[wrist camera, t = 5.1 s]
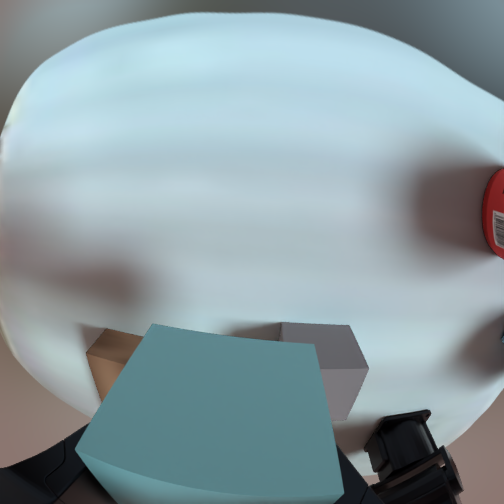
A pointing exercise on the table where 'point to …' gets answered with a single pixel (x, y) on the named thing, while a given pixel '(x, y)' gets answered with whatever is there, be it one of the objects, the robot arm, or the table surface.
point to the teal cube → (215, 424)
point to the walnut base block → (110, 357)
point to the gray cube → (333, 361)
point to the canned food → (494, 213)
